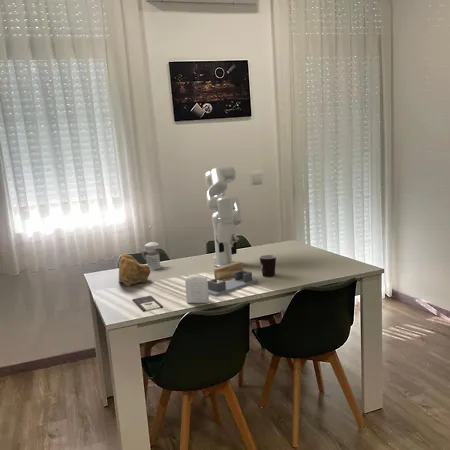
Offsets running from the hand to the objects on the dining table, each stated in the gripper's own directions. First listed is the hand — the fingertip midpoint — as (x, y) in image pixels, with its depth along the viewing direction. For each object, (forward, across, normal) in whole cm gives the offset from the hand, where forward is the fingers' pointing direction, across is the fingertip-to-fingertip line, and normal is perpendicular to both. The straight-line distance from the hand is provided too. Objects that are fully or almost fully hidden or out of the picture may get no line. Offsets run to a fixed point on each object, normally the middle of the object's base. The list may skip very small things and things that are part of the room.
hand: (227, 252), depth 242 cm
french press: (+12, -52, -14) cm, 55 cm away
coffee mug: (+13, +15, +15) cm, 25 cm away
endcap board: (+13, +14, -12) cm, 23 cm away
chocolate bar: (+14, +1, -52) cm, 54 cm away
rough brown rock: (+13, -34, -37) cm, 52 cm away
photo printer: (+14, +18, -36) cm, 43 cm away
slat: (+13, -1, +1) cm, 13 cm away
